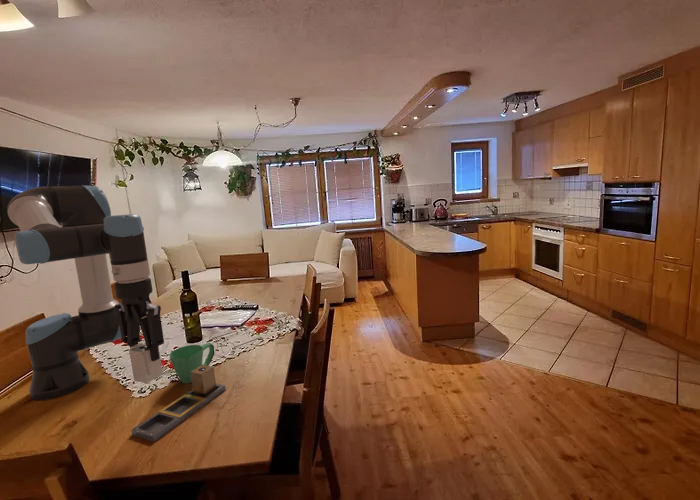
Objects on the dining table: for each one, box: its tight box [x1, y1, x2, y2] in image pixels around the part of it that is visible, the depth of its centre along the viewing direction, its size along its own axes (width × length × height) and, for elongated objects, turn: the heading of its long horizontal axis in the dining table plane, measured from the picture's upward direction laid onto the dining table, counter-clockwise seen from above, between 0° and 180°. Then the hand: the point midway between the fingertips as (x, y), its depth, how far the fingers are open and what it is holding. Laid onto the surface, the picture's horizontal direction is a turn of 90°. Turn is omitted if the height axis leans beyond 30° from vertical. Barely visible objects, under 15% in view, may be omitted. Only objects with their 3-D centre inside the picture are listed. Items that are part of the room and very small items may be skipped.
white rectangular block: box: [128, 342, 164, 384], centre depth 88 cm, size 4×4×8 cm
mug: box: [169, 342, 215, 384], centre depth 116 cm, size 15×10×10 cm
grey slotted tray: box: [130, 383, 227, 443], centre depth 97 cm, size 8×24×2 cm, turn 156°
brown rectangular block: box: [190, 364, 217, 397], centre depth 104 cm, size 4×4×8 cm
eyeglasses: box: [208, 330, 264, 355], centre depth 141 cm, size 16×15×5 cm
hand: (147, 370), depth 88 cm, fingers closed on white rectangular block, 4 cm apart
